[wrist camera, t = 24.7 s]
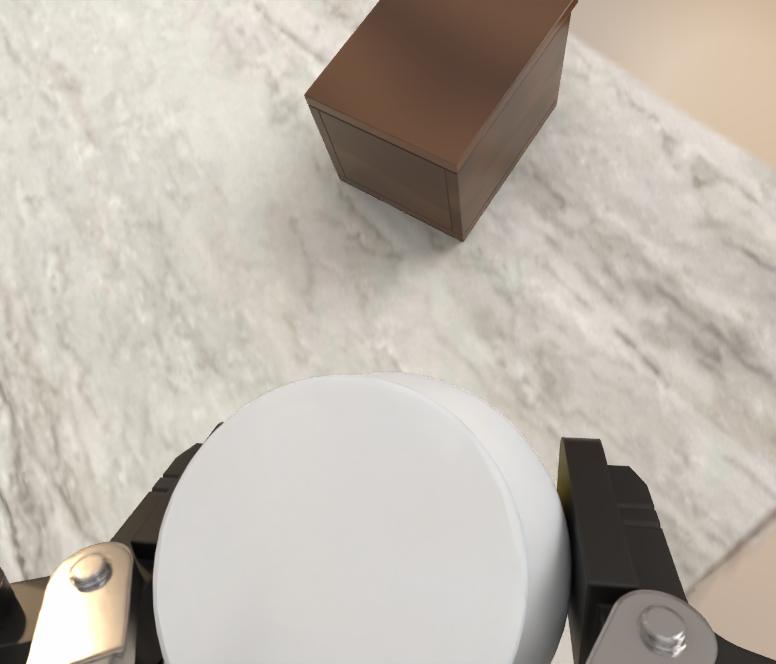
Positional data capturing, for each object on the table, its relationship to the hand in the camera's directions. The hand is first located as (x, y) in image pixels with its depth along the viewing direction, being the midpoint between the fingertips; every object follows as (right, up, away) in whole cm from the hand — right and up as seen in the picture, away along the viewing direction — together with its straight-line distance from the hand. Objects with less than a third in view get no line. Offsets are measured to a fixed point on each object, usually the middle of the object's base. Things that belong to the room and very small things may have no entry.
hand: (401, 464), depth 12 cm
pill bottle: (+1, -4, +6) cm, 7 cm away
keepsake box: (+4, +17, +29) cm, 33 cm away
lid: (+3, +19, +21) cm, 29 cm away
